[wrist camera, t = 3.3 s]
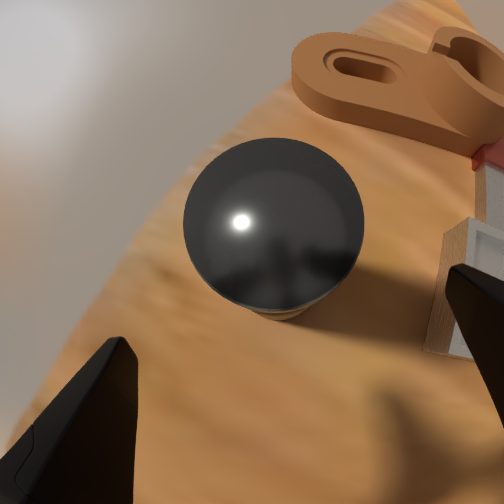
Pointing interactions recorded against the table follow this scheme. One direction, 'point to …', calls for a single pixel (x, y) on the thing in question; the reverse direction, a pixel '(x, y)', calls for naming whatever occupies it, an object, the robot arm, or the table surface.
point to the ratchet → (471, 249)
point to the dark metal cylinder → (274, 226)
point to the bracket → (407, 86)
